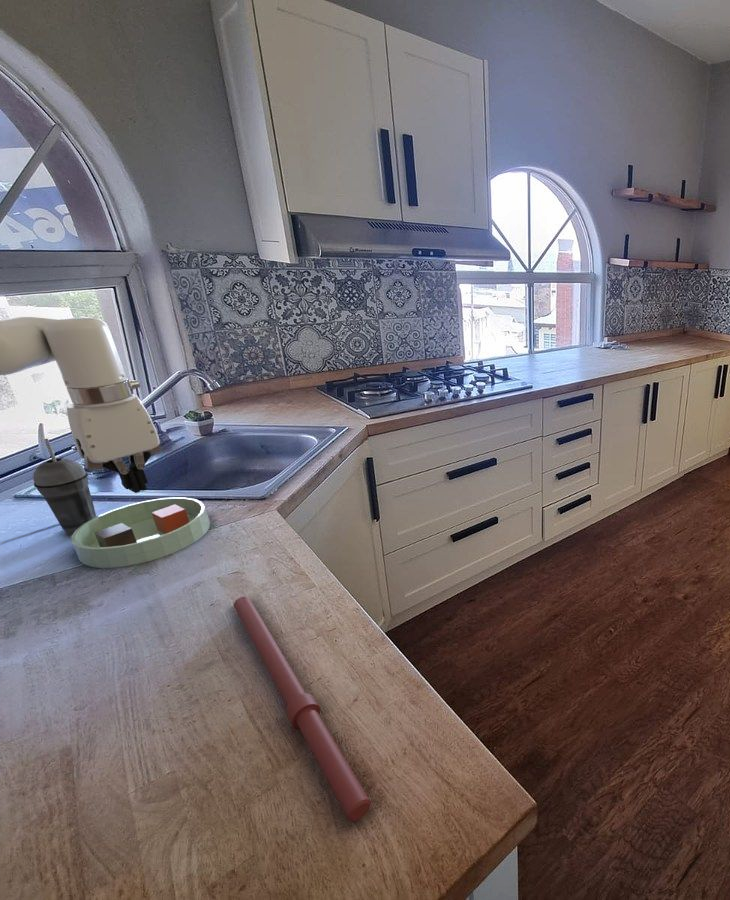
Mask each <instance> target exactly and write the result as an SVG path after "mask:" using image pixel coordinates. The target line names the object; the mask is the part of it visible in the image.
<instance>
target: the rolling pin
mask: <svg viewBox="0 0 730 900" xmlns="http://www.w3.org/2000/svg"><path fill="white" fill-rule="evenodd" d="M233 608H234V610H235V611H236V614H237V615H238V617H239V620H240V621H241V622H242V625H243V626H244V628H245V630H246V632H247V634H248V635H249V638H250V640H251V641H252V643H253V645H254V647H255V648H256V650H257V653H258V654H259V656H260V658H261V660H262V662H263V664H264V666H265V667H266V669H267V671H268V673H269V675H270V677H271V678H272V680H273V682H274V684H275V686H276V688H277V689H278V691H279V693H280V695H281V697H282V699H283V701H284V703H285V704H286V708H285V714H286V716H287V718H288V719H289V722H290V724H291V725H292V727H293V728H294V729H299V730H300V732H301V734H302V736H303V738H304V740H305V741H306V743H307V746H308V748H309V749H310V751H311V753H312V754H313V757H314V758H315V760H316V762H317V764H318V765H319V768H320V769H321V771H322V773H323V775H324V777H325V779H326V780H327V782H328V784H329V786H330V788H331V790H332V792H333V793H334V795H335V797H336V799H337V801H338V803H339V804H340V806H341V808H342V810H343V812H344V814H345V816H346V817H347V819H348V821H350V822H354V821H359V820H361V819H362V818H363V817H365V816H366V815H367V813H368V812H369V809H370V808H371V803H372V802H371V800H370V798H369V796H368V795H367V793H366V791H365V790H364V788H363V786H362V785H361V783H360V782H359V780H358V778H357V776H356V775H355V773H354V771H353V770H352V767H351V766H350V764H349V763H348V761H347V759H346V758H345V756H344V755H343V753H342V751H341V749H340V748H339V746H338V745H337V742H336V741H335V739H334V737H333V736H332V734H331V733H330V731H329V729H328V727H327V726H326V724H325V722H324V721H323V719H322V717H321V715H320V714H321V707H320V706H319V705H320V704H319V703H318V702H317V700H316V699H315V697H314V695H313V694H312V693H308V692H306V690H305V689H304V687H303V685H302V684H301V682H300V681H299V678H298V677H297V676H296V673H295V672H294V671H293V669H292V667H291V665H290V664H289V662H288V660H287V658H286V657H285V656H284V653H283V652H282V650H281V648H280V647H279V646H278V644H277V642H276V640H275V637H273V635H272V633H271V632H270V630H269V628H268V626H267V625H266V623H265V621H264V620H263V618H262V617H261V614H260V613H259V611H258V609H257V608H256V606H255V605H254V603H253V602H252V600H251V598H250V597H249V596H240V597H239V598H237V599H236V600H235V601H234V602H233Z"/></svg>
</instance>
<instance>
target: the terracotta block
mask: <svg viewBox="0 0 730 900" xmlns="http://www.w3.org/2000/svg"><path fill="white" fill-rule="evenodd" d="M152 516H153V518H154V521H155V524H156V527H157V530H159V531H160V532H162V533H164V534H167V533H169V532H172V531H174V530H176V529H178V528H180V527H182V526H184V525H186V524H187V523H189V519H188V516H187V513H186V510H185V509H184V508H182V507H180V506H178V505H172V506H169V507H166V508H163V509H160V510H157V511H155V512H152Z"/></svg>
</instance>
